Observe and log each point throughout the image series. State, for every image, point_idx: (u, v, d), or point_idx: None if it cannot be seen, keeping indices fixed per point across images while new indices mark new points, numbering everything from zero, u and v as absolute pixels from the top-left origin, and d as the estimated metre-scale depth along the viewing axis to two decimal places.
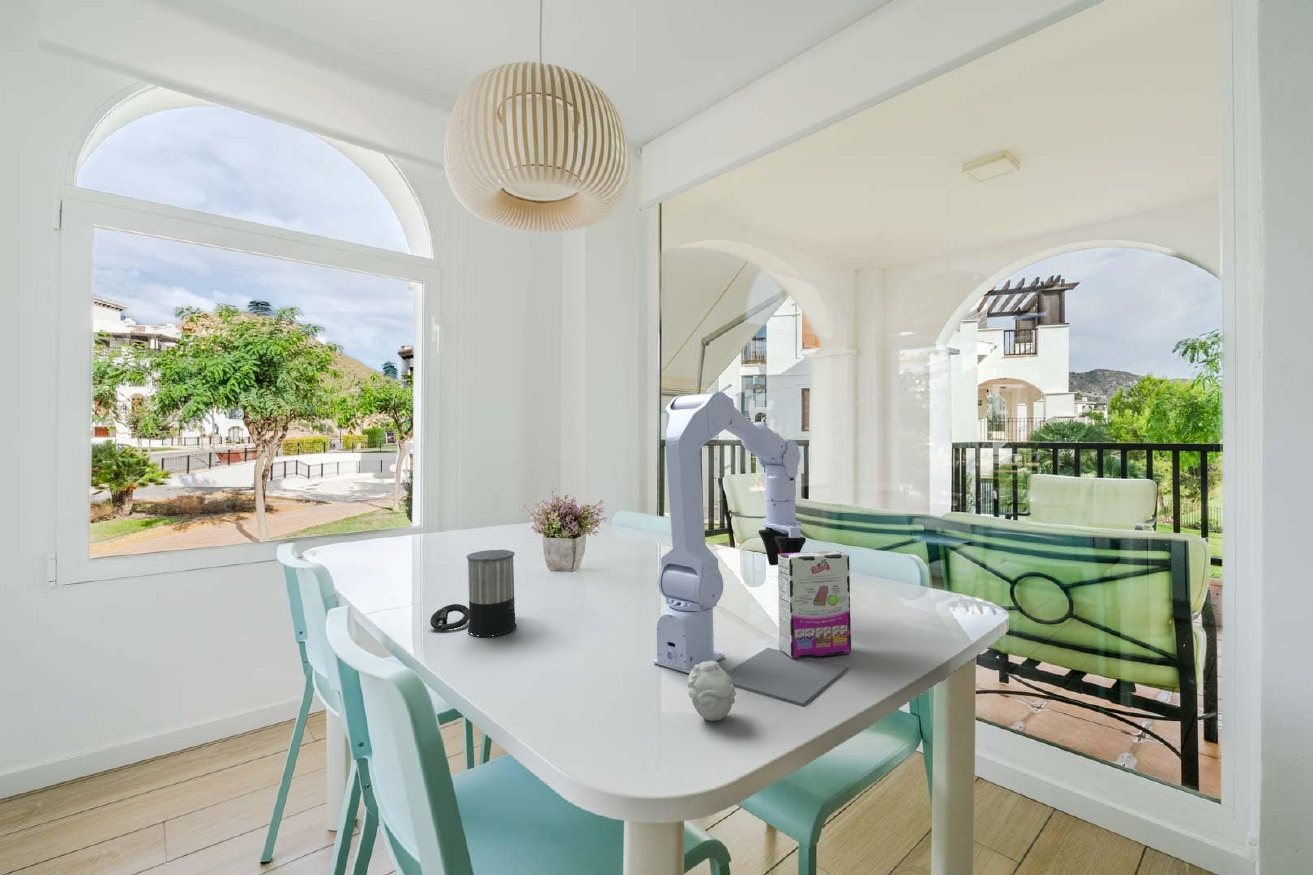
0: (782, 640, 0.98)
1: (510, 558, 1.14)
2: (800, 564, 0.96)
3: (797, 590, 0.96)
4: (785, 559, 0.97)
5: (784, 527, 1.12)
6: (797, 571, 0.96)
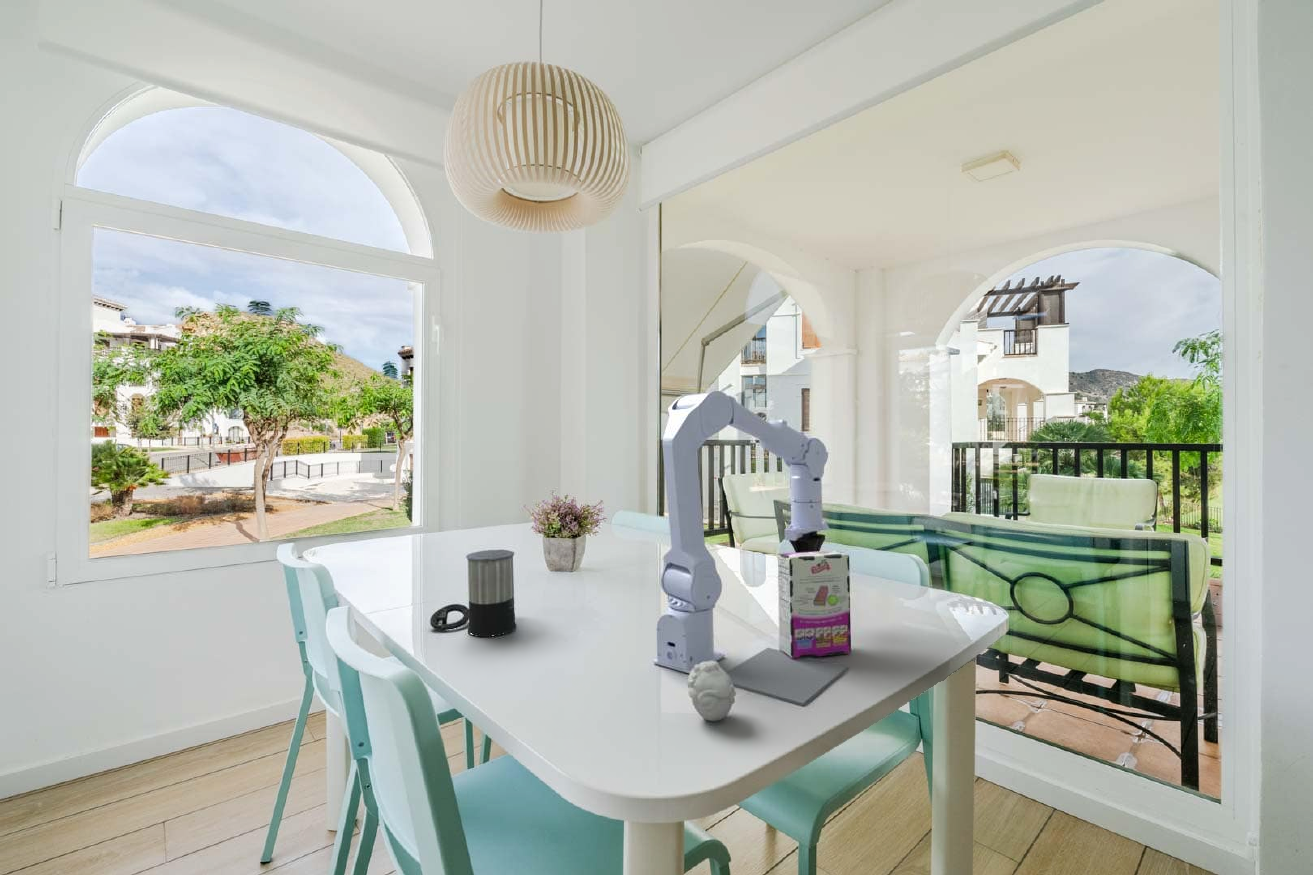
0: (782, 640, 0.98)
1: (510, 558, 1.13)
2: (800, 564, 0.96)
3: (797, 590, 0.96)
4: (785, 559, 0.97)
5: (787, 528, 1.09)
6: (797, 571, 0.96)
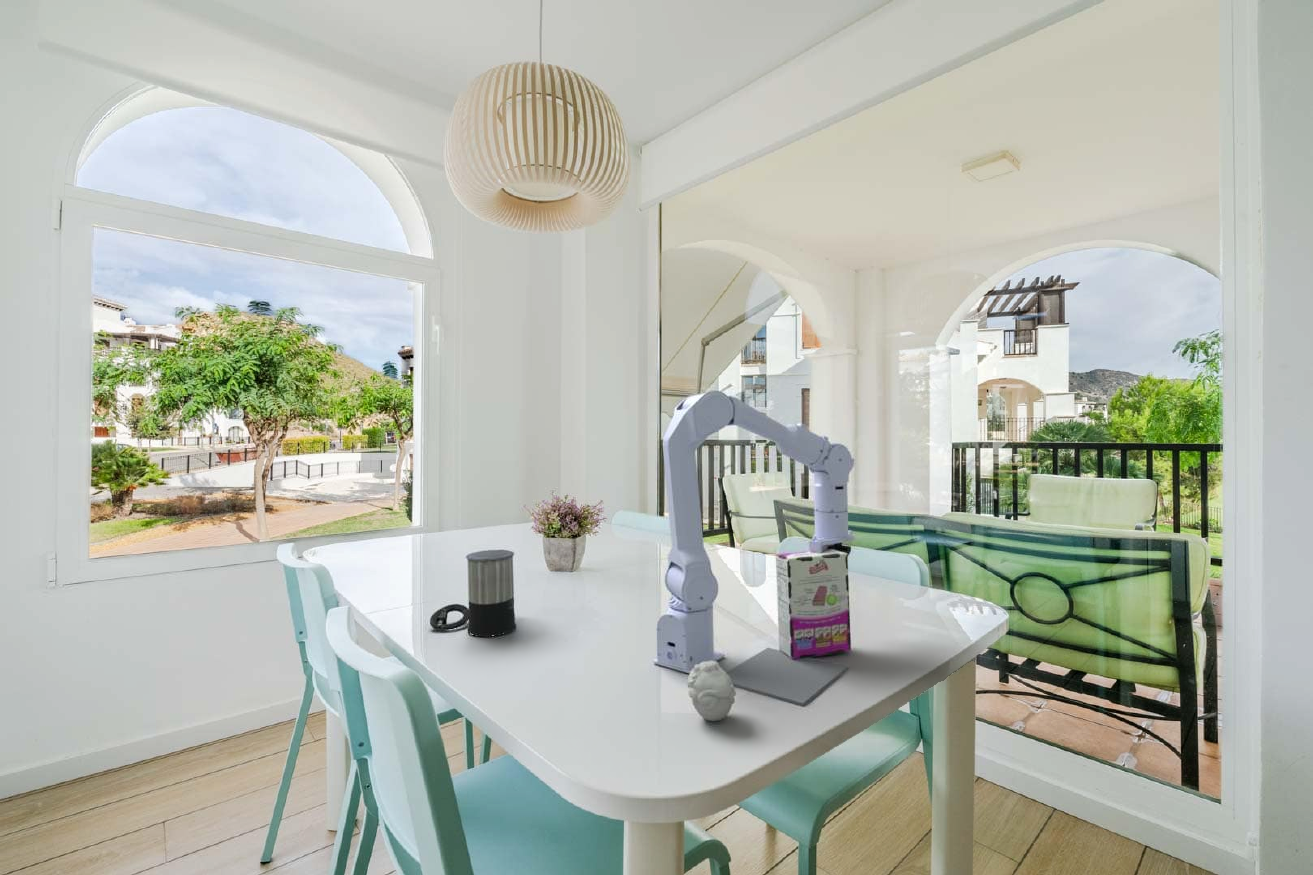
0: (782, 640, 0.98)
1: (510, 558, 1.13)
2: (798, 565, 0.96)
3: (796, 591, 0.95)
4: (783, 560, 0.97)
5: None
6: (795, 572, 0.95)
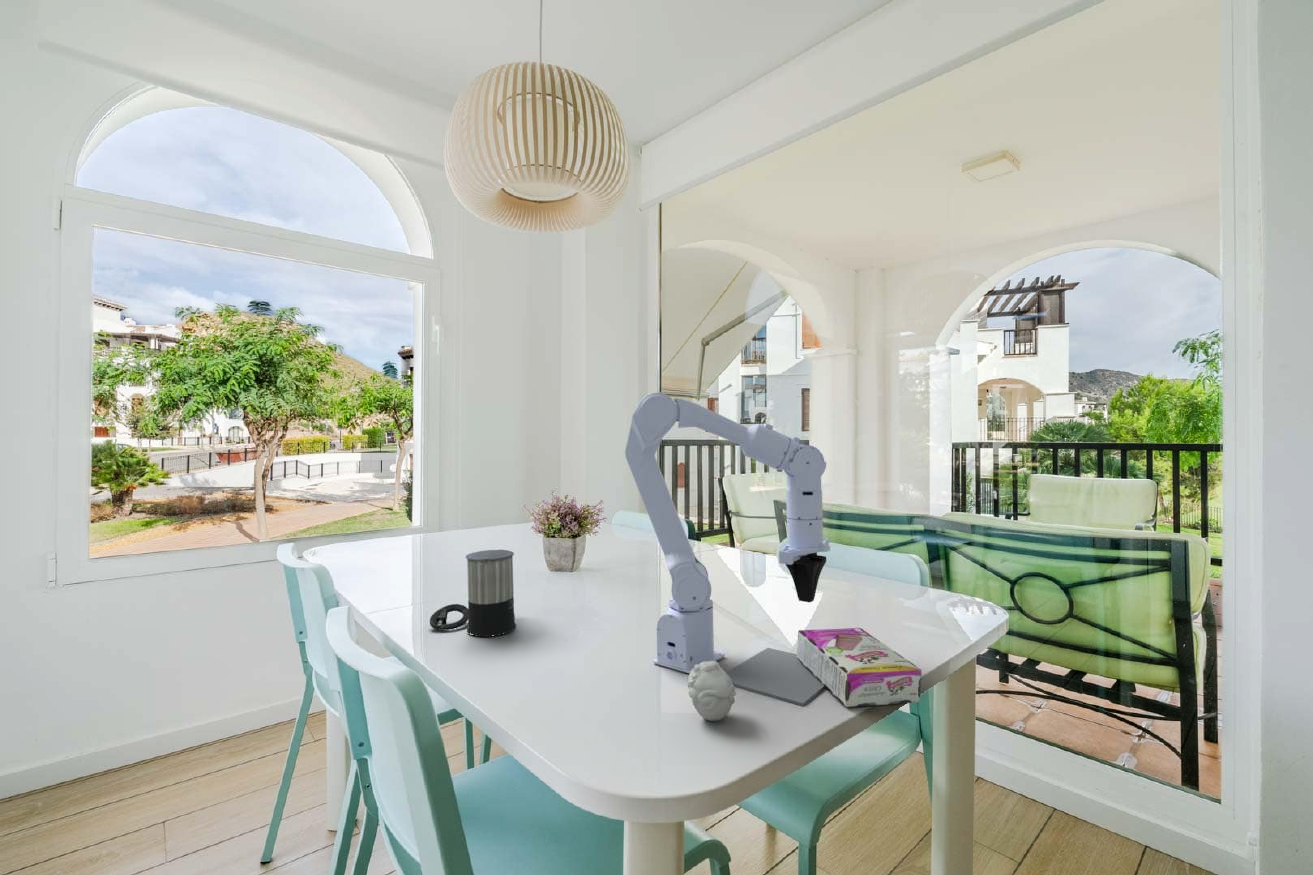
0: (802, 643, 0.92)
1: (509, 558, 1.13)
2: None
3: None
4: (843, 693, 0.79)
5: None
6: None
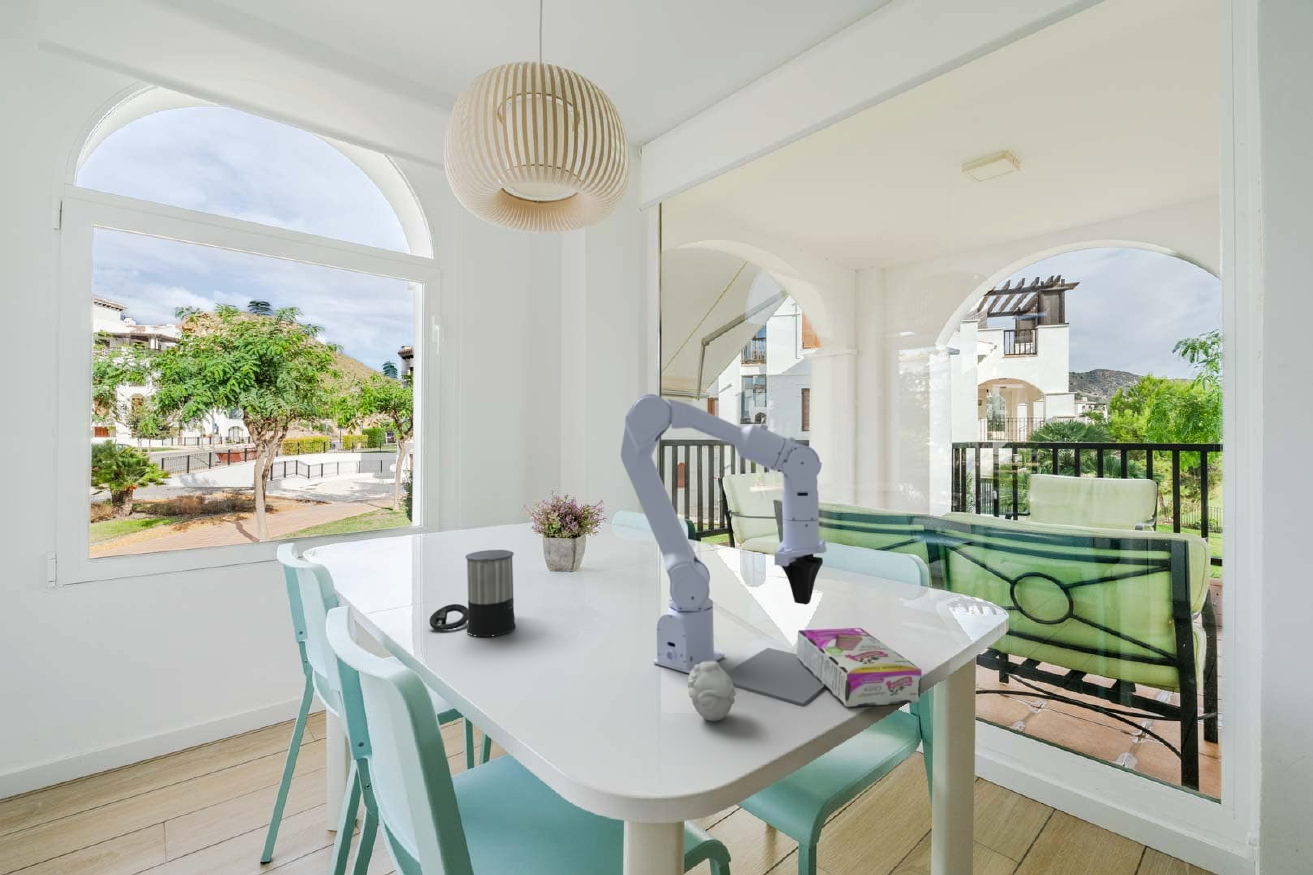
0: (802, 643, 0.92)
1: (509, 558, 1.13)
2: None
3: None
4: (843, 693, 0.79)
5: (778, 551, 0.93)
6: None
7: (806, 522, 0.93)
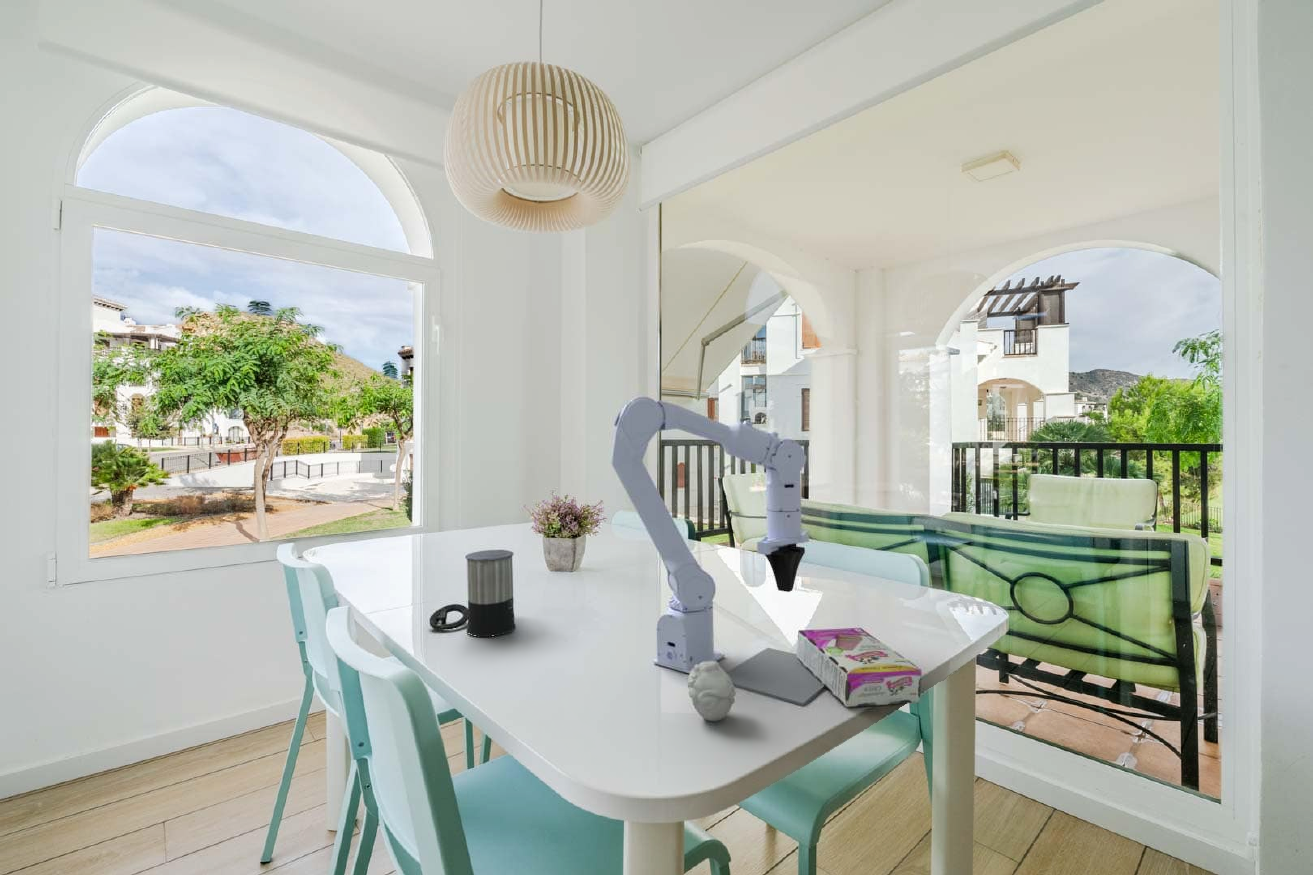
0: (802, 643, 0.92)
1: (509, 558, 1.13)
2: None
3: None
4: (843, 693, 0.79)
5: (761, 540, 0.97)
6: None
7: (788, 513, 0.97)
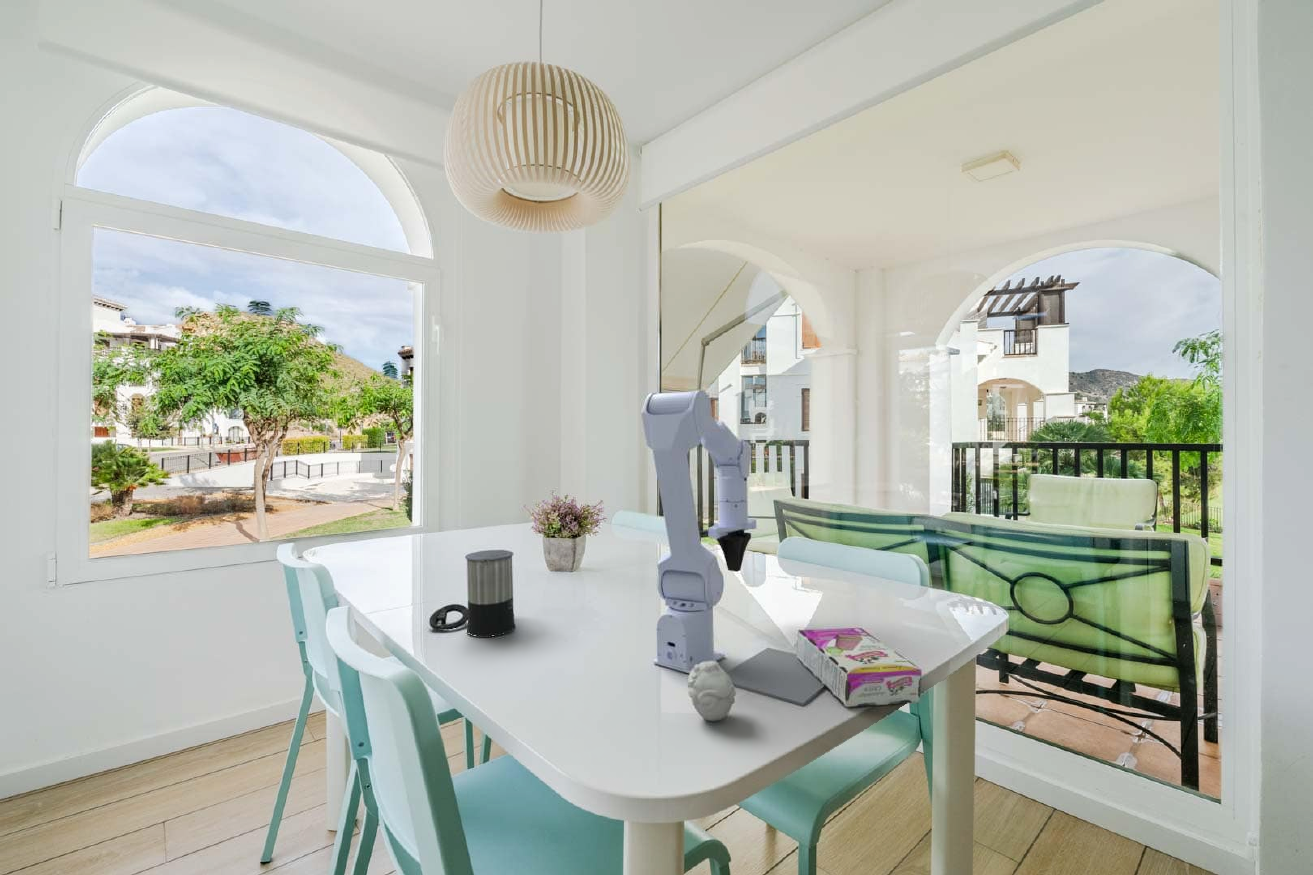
0: (802, 643, 0.92)
1: (509, 558, 1.13)
2: None
3: None
4: (843, 693, 0.79)
5: None
6: None
7: (735, 503, 1.13)
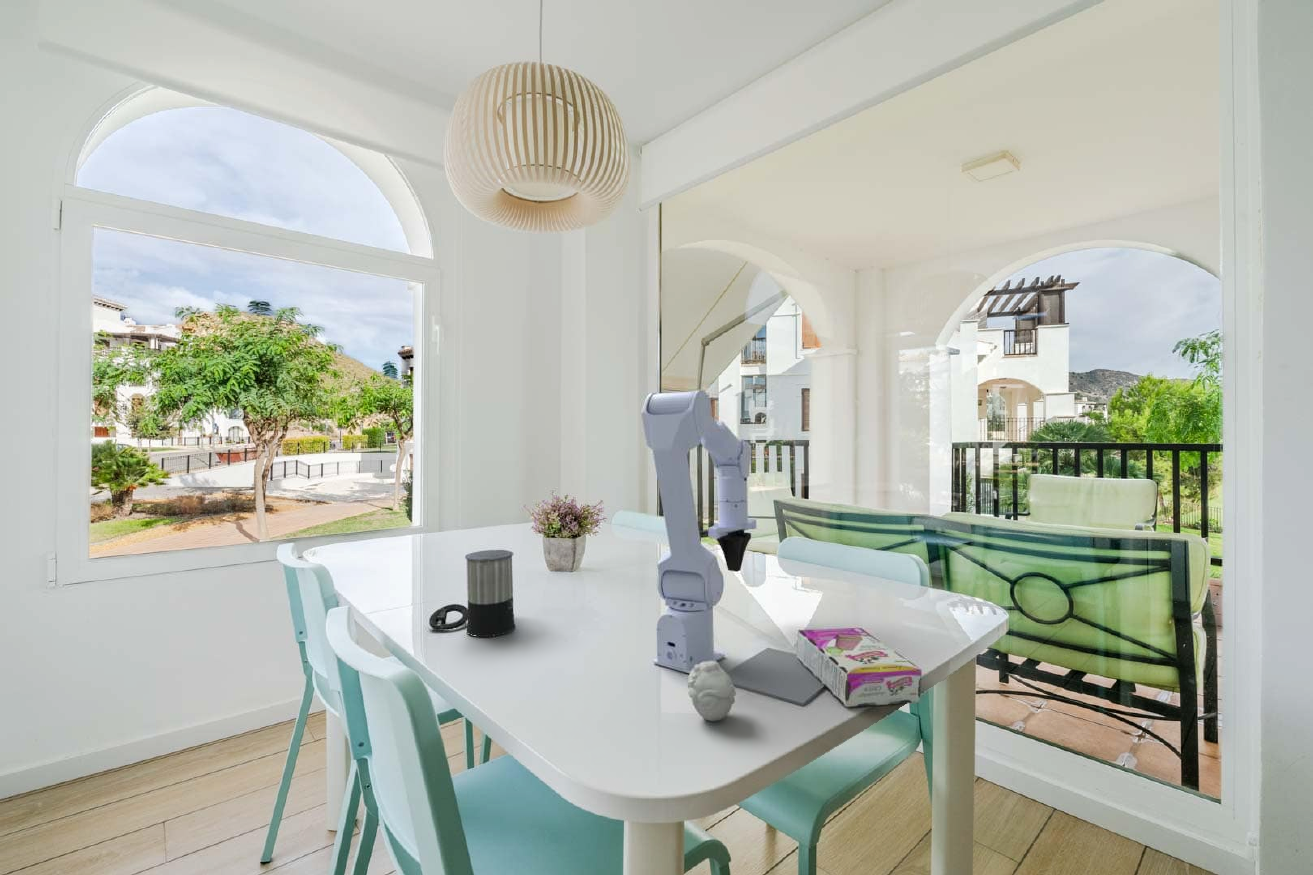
0: (802, 643, 0.92)
1: (509, 558, 1.13)
2: None
3: None
4: (843, 693, 0.79)
5: None
6: None
7: (735, 503, 1.13)
